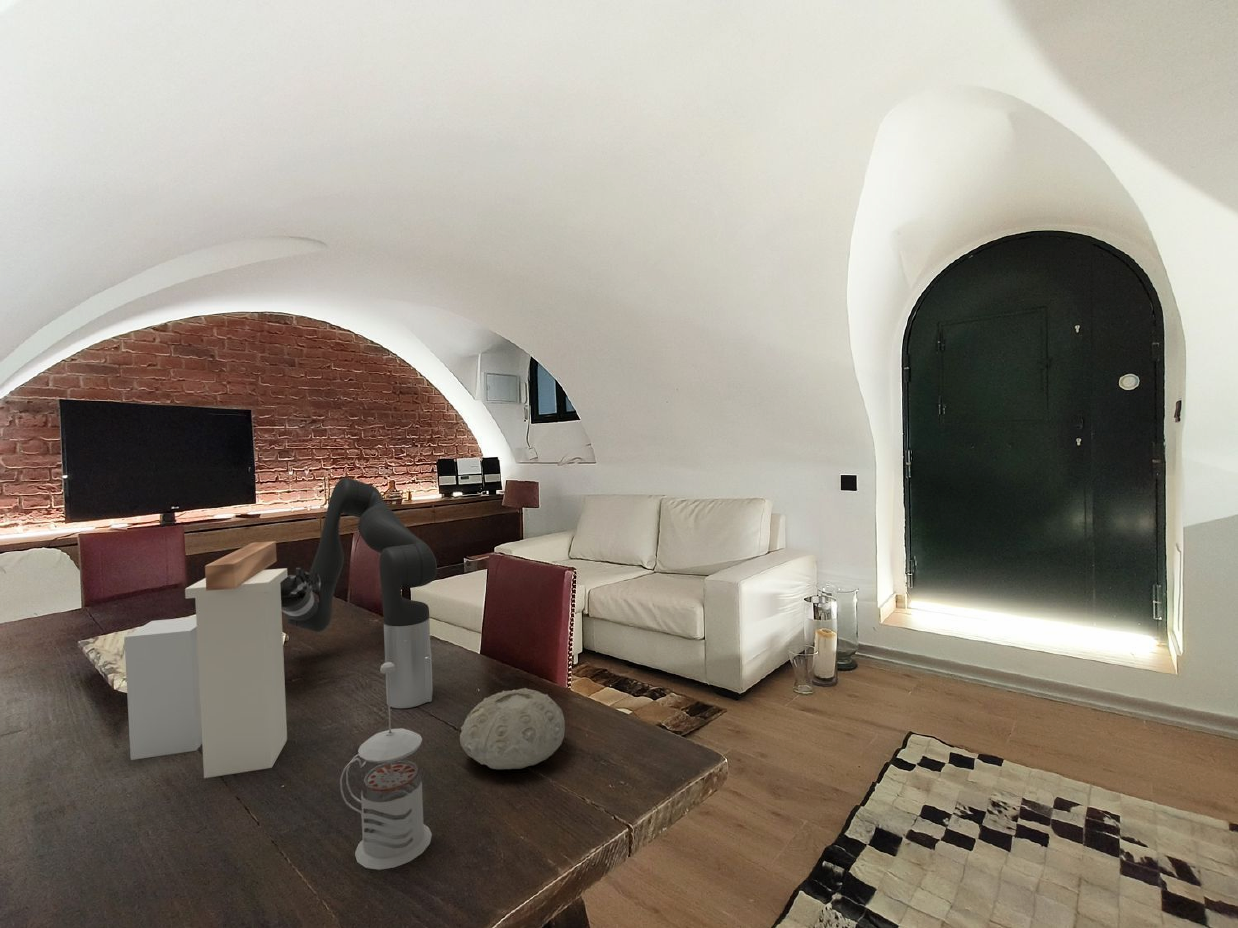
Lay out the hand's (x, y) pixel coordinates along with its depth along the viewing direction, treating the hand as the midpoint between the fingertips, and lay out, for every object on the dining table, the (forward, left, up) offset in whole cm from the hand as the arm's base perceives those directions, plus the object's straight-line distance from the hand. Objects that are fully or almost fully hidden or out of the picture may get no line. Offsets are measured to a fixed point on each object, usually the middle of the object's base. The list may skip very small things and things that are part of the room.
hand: (275, 573), depth 123 cm
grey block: (+15, +10, -28) cm, 34 cm away
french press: (-26, +53, -29) cm, 66 cm away
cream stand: (0, +21, -28) cm, 35 cm away
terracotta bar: (0, +18, +4) cm, 18 cm away
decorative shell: (-45, +35, -29) cm, 64 cm away
